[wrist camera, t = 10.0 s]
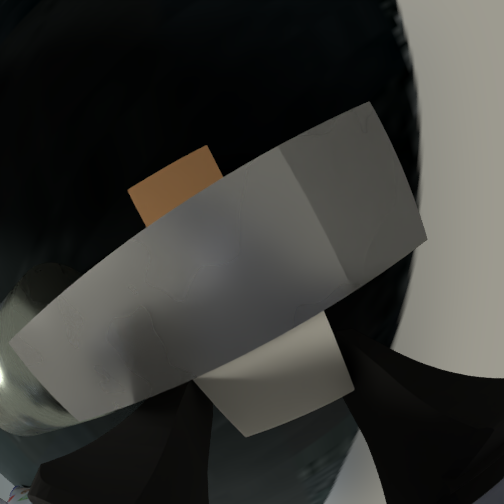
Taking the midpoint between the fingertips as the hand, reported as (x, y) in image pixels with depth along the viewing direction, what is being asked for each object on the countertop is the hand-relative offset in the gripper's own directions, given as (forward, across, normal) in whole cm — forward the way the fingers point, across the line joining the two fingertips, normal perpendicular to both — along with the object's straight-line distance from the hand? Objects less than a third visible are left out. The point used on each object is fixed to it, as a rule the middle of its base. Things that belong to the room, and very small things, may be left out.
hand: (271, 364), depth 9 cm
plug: (+2, +1, -3) cm, 4 cm away
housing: (+2, +5, -3) cm, 6 cm away
